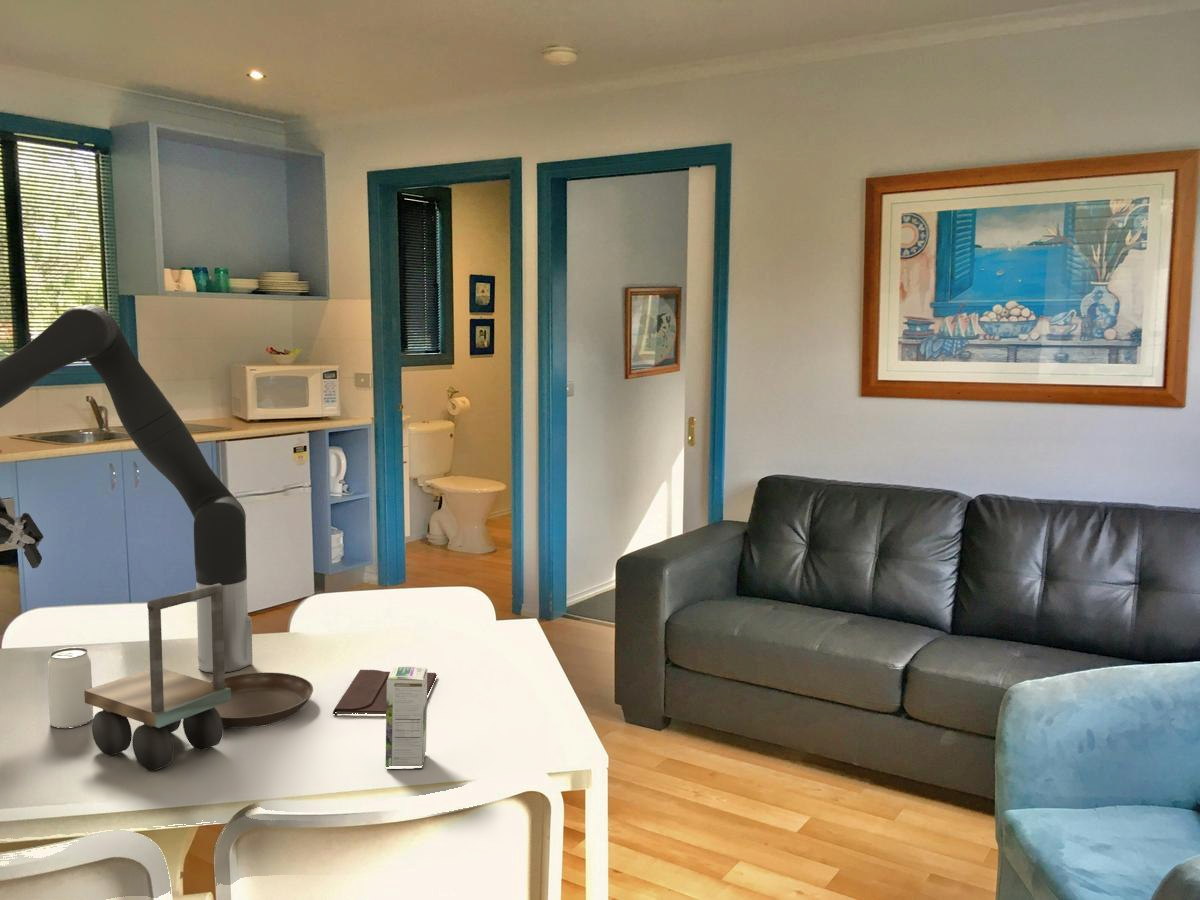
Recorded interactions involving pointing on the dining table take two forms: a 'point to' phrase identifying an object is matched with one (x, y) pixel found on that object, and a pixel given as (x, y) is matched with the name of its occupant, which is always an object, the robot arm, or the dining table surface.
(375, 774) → the dining table surface
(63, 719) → the can
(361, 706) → the notebook
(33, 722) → the dining table surface
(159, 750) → the trolley
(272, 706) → the plant saucer
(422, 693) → the syrup box
